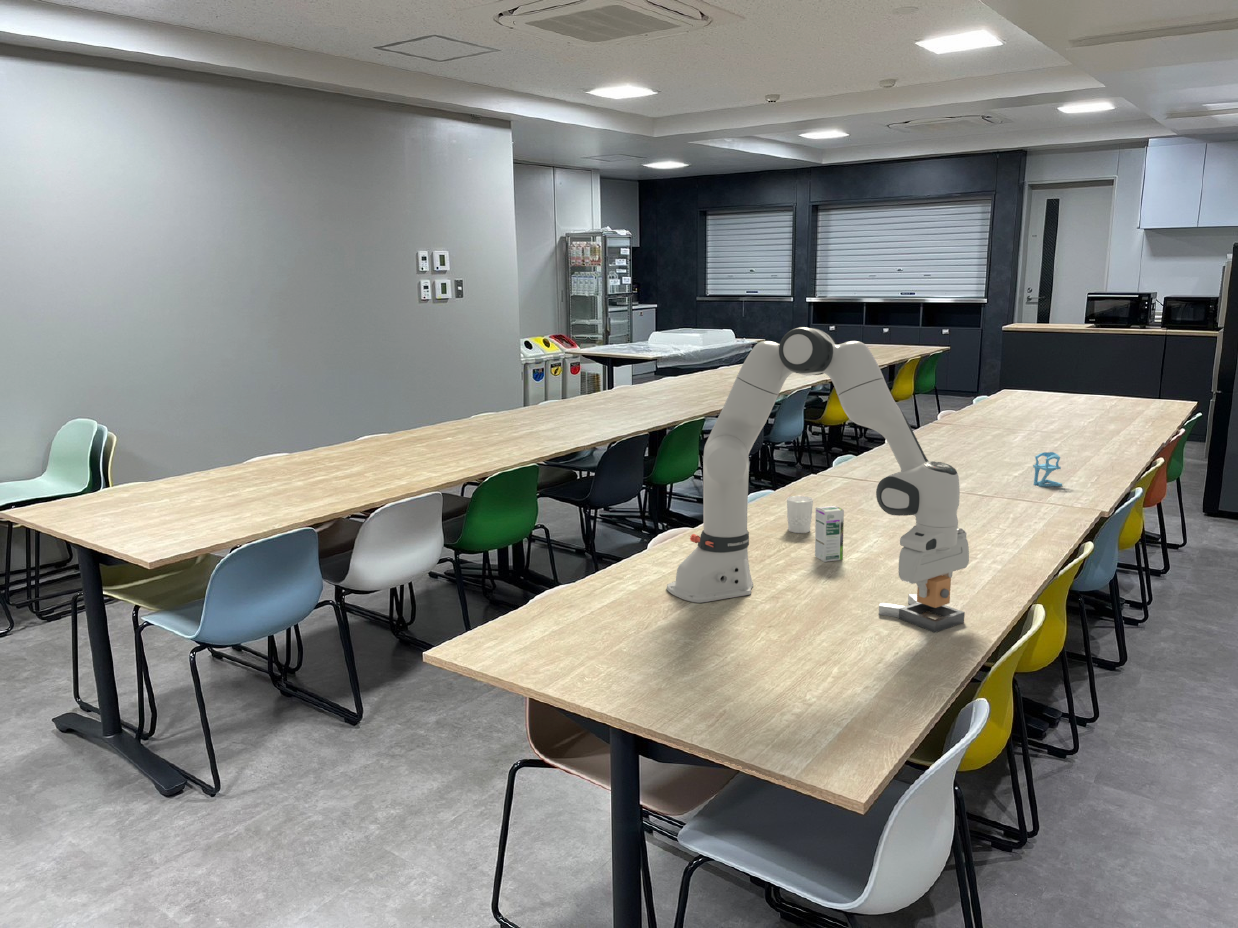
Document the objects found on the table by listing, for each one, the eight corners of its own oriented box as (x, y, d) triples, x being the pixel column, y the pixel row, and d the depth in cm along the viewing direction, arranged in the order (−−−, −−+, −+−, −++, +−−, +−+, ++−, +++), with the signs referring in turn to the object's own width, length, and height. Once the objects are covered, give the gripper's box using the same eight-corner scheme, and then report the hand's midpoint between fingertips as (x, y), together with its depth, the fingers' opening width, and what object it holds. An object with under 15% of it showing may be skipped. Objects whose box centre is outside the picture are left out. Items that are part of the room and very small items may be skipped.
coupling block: (938, 609, 200) (939, 583, 199) (914, 600, 206) (915, 575, 204) (952, 604, 203) (954, 578, 202) (928, 595, 208) (929, 571, 207)
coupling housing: (929, 634, 197) (930, 623, 197) (874, 613, 210) (875, 602, 210) (968, 620, 205) (969, 610, 204) (913, 601, 217) (913, 591, 217)
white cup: (808, 526, 282) (809, 495, 280) (815, 533, 274) (815, 501, 272) (783, 527, 282) (784, 496, 280) (789, 534, 274) (789, 502, 272)
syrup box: (824, 562, 247) (825, 511, 244) (814, 556, 253) (815, 506, 250) (843, 560, 249) (844, 509, 246) (832, 554, 254) (834, 504, 251)
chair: (1028, 483, 332) (1030, 451, 329) (1046, 481, 334) (1049, 449, 332) (1043, 488, 325) (1046, 455, 322) (1062, 486, 327) (1065, 453, 325)
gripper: (954, 523, 209) (951, 580, 212) (894, 539, 198) (892, 598, 201) (977, 529, 204) (974, 587, 207) (918, 546, 193) (915, 607, 196)
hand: (933, 593), depth 204 cm, fingers closed on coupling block, 5 cm apart
